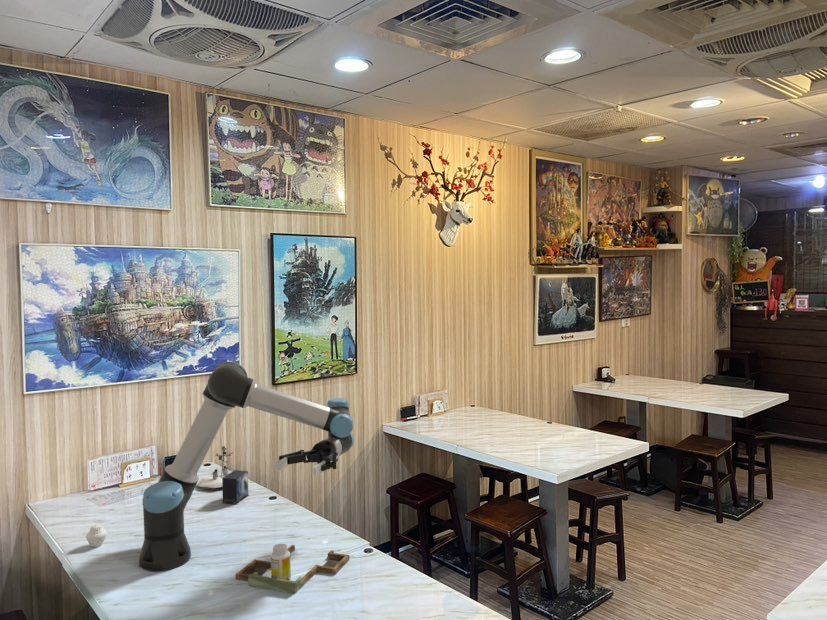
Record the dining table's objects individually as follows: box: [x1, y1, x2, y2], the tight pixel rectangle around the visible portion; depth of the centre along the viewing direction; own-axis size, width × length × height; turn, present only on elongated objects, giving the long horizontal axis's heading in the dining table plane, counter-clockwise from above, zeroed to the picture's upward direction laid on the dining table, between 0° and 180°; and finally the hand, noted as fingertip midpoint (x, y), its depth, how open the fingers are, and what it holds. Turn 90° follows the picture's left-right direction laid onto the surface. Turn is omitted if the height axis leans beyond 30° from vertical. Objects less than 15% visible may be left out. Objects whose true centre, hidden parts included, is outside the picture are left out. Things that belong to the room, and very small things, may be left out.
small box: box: [221, 469, 249, 505], centre depth 246 cm, size 11×6×10 cm, turn 168°
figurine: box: [197, 445, 233, 489], centre depth 267 cm, size 20×18×16 cm
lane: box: [235, 544, 350, 594], centre depth 185 cm, size 25×27×3 cm
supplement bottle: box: [270, 543, 292, 580], centre depth 178 cm, size 6×6×10 cm
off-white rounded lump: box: [85, 524, 108, 548], centre depth 205 cm, size 6×6×7 cm
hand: (294, 469), depth 186 cm, fingers open, 13 cm apart
